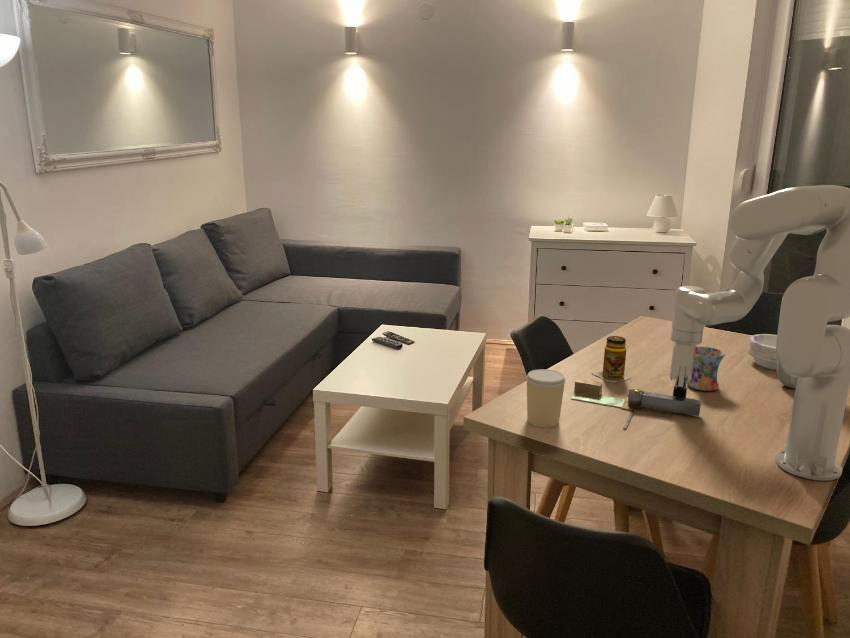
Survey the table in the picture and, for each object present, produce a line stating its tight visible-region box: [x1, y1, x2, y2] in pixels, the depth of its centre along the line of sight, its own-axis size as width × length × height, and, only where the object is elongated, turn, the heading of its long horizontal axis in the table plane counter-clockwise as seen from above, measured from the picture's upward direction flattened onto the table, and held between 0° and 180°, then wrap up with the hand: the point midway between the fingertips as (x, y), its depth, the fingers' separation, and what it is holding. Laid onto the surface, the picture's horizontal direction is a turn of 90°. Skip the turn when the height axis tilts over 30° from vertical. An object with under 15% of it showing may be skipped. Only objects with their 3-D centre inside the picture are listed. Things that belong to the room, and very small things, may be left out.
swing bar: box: [627, 388, 702, 417], centre depth 179 cm, size 18×4×4 cm, turn 65°
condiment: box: [592, 335, 630, 384], centre depth 202 cm, size 7×8×12 cm
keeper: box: [570, 378, 626, 409], centre depth 187 cm, size 8×14×3 cm, turn 65°
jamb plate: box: [620, 397, 673, 430], centre depth 175 cm, size 20×12×1 cm, turn 155°
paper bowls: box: [747, 333, 778, 371], centre depth 214 cm, size 15×15×8 cm
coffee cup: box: [526, 368, 566, 428], centre depth 171 cm, size 9×9×12 cm
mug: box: [686, 346, 726, 392], centre depth 196 cm, size 12×9×11 cm
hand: (678, 402), depth 182 cm, fingers closed
